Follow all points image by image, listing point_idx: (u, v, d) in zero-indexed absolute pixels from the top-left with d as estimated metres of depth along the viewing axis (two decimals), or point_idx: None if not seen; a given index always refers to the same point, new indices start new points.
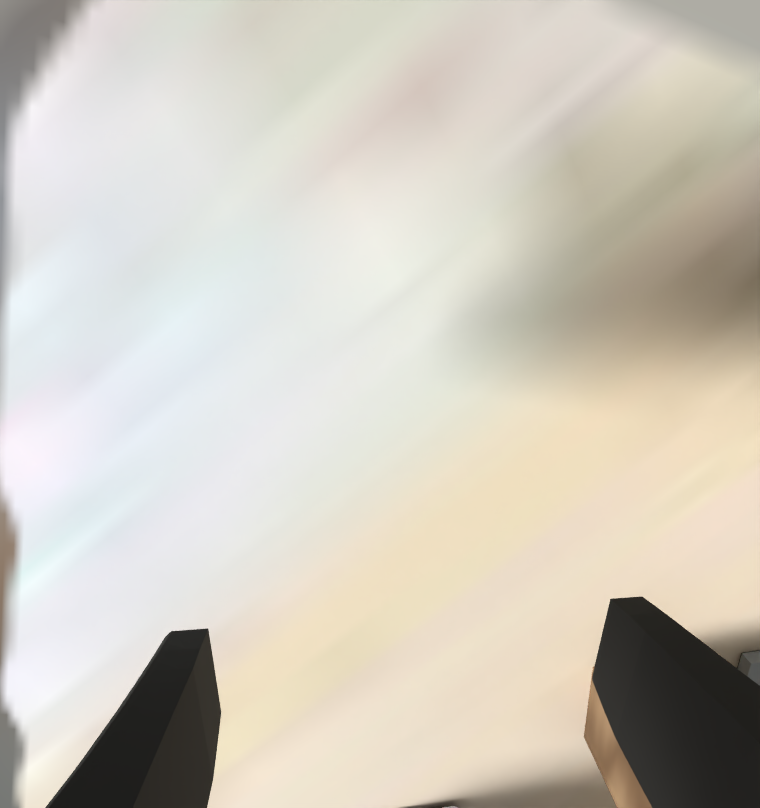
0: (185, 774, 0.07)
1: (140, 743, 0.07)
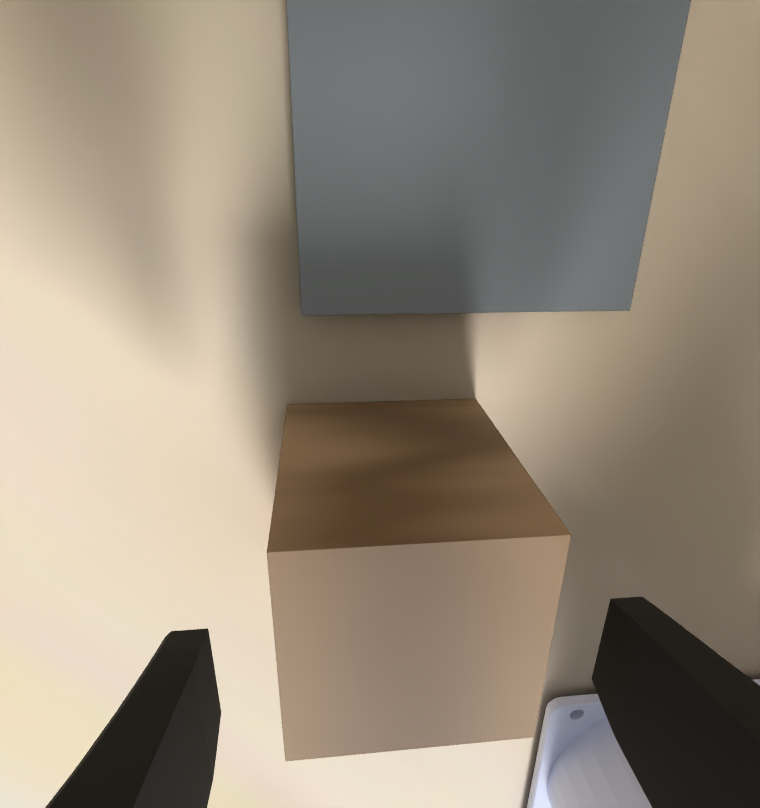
0: (185, 774, 0.07)
1: (140, 743, 0.07)
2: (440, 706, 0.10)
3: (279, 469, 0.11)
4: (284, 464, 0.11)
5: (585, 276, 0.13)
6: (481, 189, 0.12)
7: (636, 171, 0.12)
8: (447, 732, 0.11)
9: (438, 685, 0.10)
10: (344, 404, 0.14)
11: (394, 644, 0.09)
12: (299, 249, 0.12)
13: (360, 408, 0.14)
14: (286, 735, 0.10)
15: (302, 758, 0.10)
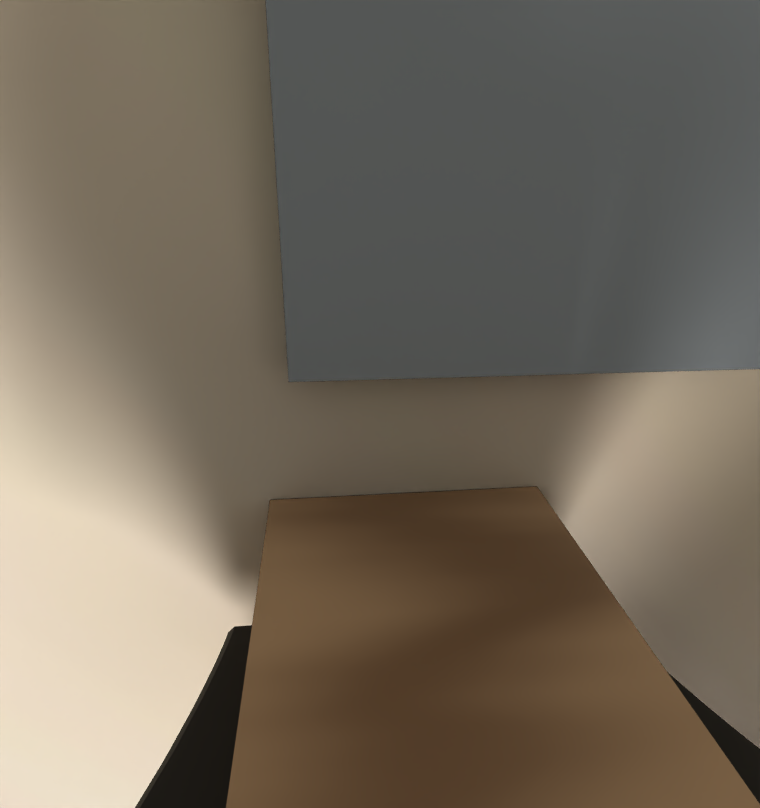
0: None
1: (224, 735, 0.07)
2: None
3: (249, 656, 0.07)
4: (258, 641, 0.07)
5: (712, 321, 0.09)
6: (568, 191, 0.07)
7: None
8: None
9: None
10: (352, 501, 0.10)
11: None
12: (284, 285, 0.08)
13: (375, 509, 0.09)
14: None
15: None
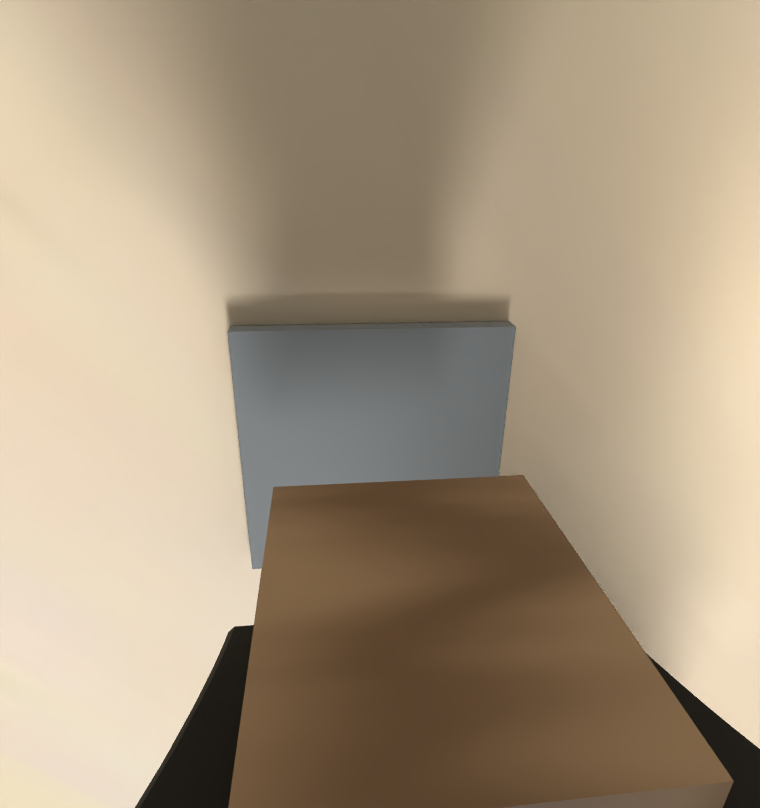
0: None
1: (224, 735, 0.07)
2: None
3: (256, 621, 0.07)
4: (264, 609, 0.07)
5: None
6: None
7: (484, 475, 0.17)
8: None
9: None
10: (350, 488, 0.10)
11: None
12: (249, 532, 0.17)
13: (372, 495, 0.10)
14: None
15: None
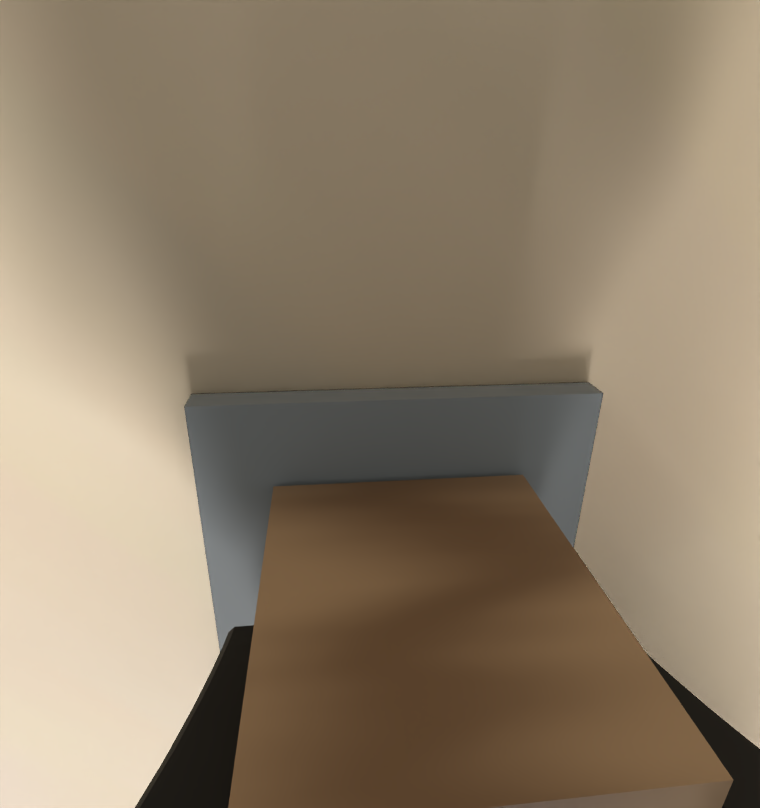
0: None
1: (224, 735, 0.07)
2: None
3: (256, 621, 0.07)
4: (264, 608, 0.07)
5: None
6: None
7: None
8: None
9: None
10: (350, 487, 0.10)
11: None
12: None
13: (372, 494, 0.10)
14: None
15: None
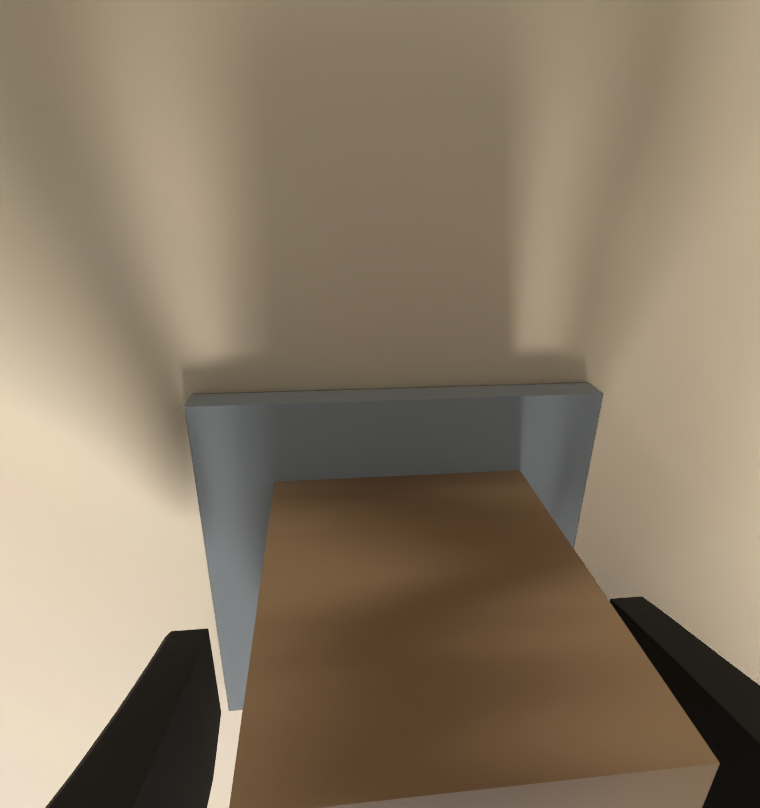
0: (185, 774, 0.07)
1: (140, 743, 0.07)
2: None
3: (258, 612, 0.07)
4: (265, 600, 0.08)
5: None
6: None
7: None
8: None
9: None
10: (349, 482, 0.10)
11: None
12: (223, 666, 0.12)
13: (371, 489, 0.10)
14: None
15: None
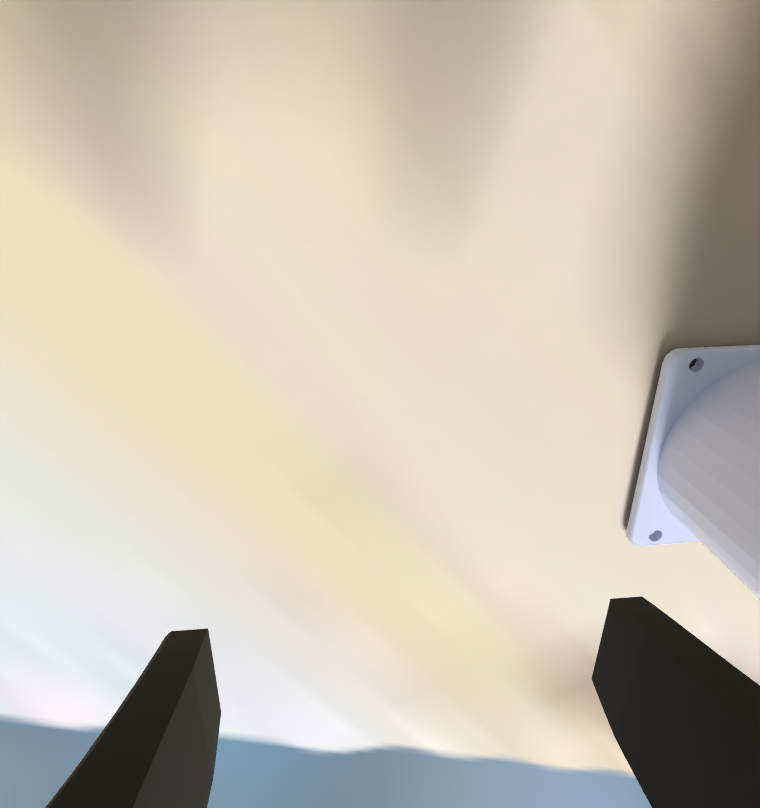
0: (185, 774, 0.07)
1: (140, 743, 0.07)
2: None
3: None
4: None
5: None
6: None
7: None
8: None
9: None
10: None
11: None
12: None
13: None
14: None
15: None
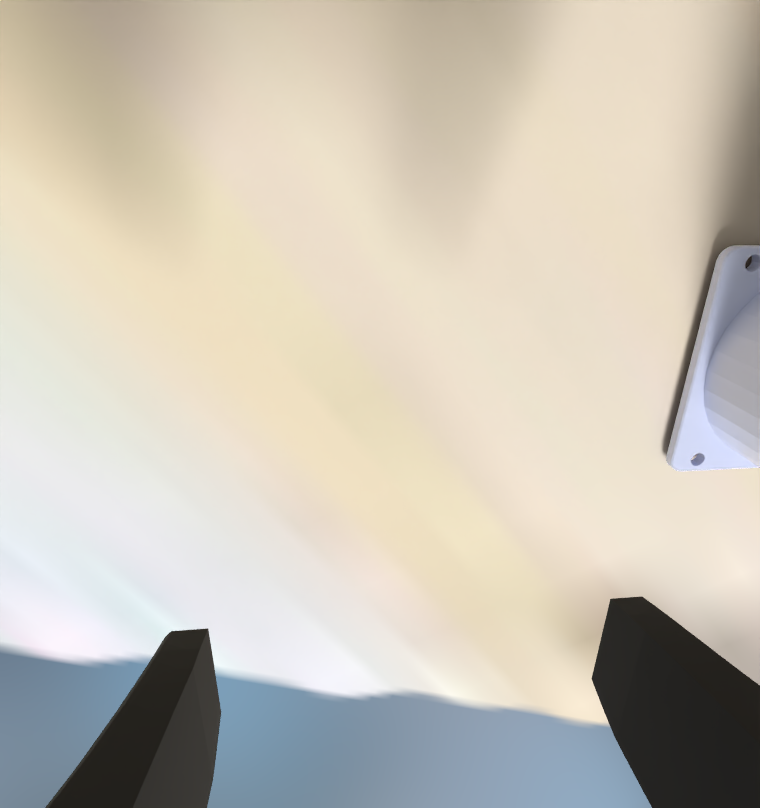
0: (185, 774, 0.07)
1: (140, 743, 0.07)
2: None
3: None
4: None
5: None
6: None
7: None
8: None
9: None
10: None
11: None
12: None
13: None
14: None
15: None
